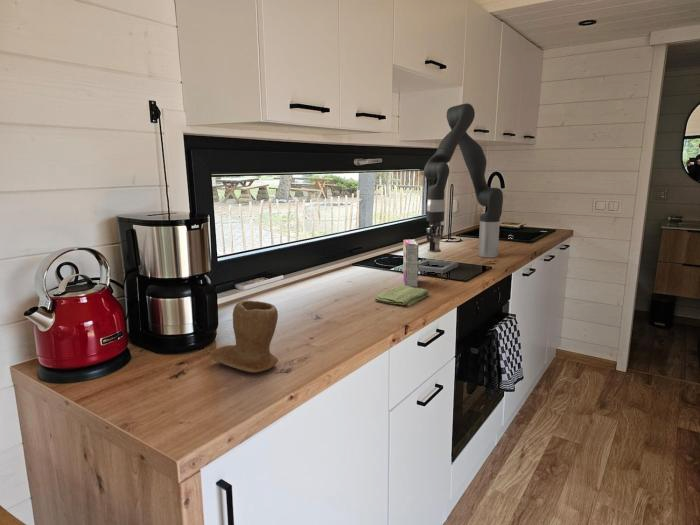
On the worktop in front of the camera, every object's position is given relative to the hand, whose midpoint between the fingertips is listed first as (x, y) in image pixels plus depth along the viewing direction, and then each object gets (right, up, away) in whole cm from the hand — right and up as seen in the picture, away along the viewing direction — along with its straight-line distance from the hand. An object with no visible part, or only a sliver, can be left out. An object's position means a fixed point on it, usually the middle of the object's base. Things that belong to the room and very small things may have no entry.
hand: (434, 249), depth 208 cm
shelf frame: (0, -8, +2) cm, 8 cm away
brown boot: (-60, -30, -95) cm, 116 cm away
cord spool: (0, -1, 0) cm, 1 cm away
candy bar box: (-13, -14, -23) cm, 30 cm away
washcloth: (-19, -19, -43) cm, 51 cm away
